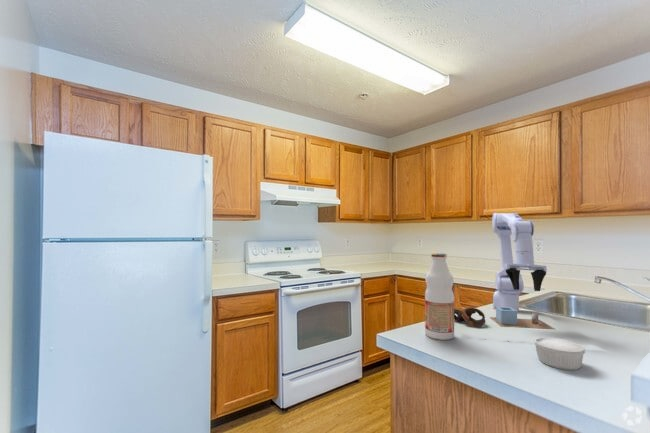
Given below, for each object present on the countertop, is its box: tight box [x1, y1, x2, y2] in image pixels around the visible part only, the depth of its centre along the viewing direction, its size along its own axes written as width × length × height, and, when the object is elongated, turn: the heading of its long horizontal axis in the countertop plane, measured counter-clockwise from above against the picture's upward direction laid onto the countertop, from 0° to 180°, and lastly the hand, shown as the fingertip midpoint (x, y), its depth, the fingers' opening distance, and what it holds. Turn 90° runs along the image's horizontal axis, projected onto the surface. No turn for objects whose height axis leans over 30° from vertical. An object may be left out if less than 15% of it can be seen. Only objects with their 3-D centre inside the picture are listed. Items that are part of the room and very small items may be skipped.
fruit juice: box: [424, 252, 455, 341], centre depth 109 cm, size 9×9×28 cm
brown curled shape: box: [454, 306, 486, 328], centre depth 119 cm, size 12×10×8 cm
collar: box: [495, 307, 518, 325], centre depth 120 cm, size 5×5×5 cm
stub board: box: [489, 312, 556, 330], centre depth 119 cm, size 18×12×5 cm, turn 81°
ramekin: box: [534, 337, 586, 371], centre depth 88 cm, size 11×11×5 cm
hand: (526, 290), depth 115 cm, fingers open, 7 cm apart
